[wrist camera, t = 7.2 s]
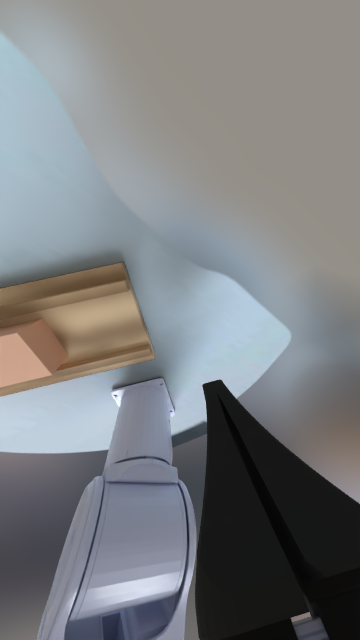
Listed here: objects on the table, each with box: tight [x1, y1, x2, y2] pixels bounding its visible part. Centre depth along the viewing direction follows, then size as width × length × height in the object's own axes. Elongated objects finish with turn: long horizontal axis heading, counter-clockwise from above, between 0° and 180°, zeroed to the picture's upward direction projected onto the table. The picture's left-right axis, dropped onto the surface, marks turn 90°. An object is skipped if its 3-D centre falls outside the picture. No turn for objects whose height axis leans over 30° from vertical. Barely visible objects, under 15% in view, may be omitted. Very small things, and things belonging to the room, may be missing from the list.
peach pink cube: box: [0, 318, 69, 387], centre depth 14 cm, size 5×5×3 cm
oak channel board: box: [0, 262, 155, 397], centre depth 15 cm, size 12×26×4 cm, turn 101°
